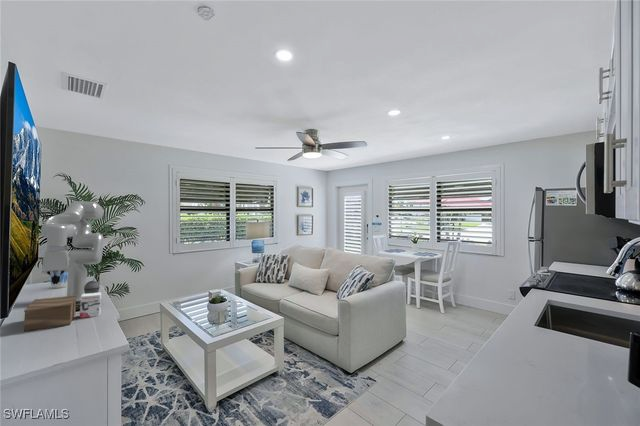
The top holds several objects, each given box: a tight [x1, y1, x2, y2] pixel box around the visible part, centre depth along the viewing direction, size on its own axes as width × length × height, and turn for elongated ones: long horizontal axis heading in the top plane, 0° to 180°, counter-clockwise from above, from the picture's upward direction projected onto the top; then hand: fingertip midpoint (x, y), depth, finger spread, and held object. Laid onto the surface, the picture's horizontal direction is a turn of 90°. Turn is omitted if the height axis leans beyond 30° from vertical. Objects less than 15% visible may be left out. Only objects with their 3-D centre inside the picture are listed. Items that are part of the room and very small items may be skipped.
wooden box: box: [23, 299, 77, 332], centre depth 141 cm, size 18×16×9 cm
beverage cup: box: [84, 273, 100, 294], centre depth 164 cm, size 7×7×20 cm
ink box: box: [79, 291, 102, 319], centre depth 152 cm, size 8×5×12 cm, turn 123°
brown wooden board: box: [23, 295, 77, 313], centre depth 141 cm, size 18×16×1 cm
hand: (55, 283), depth 145 cm, fingers closed
